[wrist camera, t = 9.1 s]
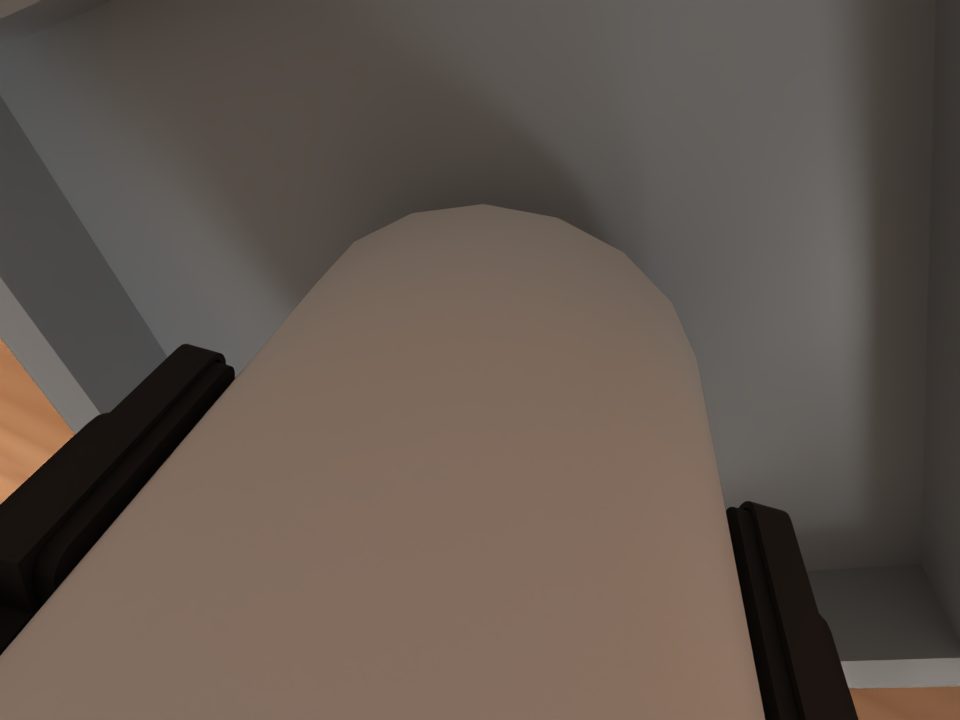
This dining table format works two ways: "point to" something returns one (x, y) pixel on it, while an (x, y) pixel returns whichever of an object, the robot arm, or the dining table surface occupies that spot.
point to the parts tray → (546, 191)
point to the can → (424, 510)
